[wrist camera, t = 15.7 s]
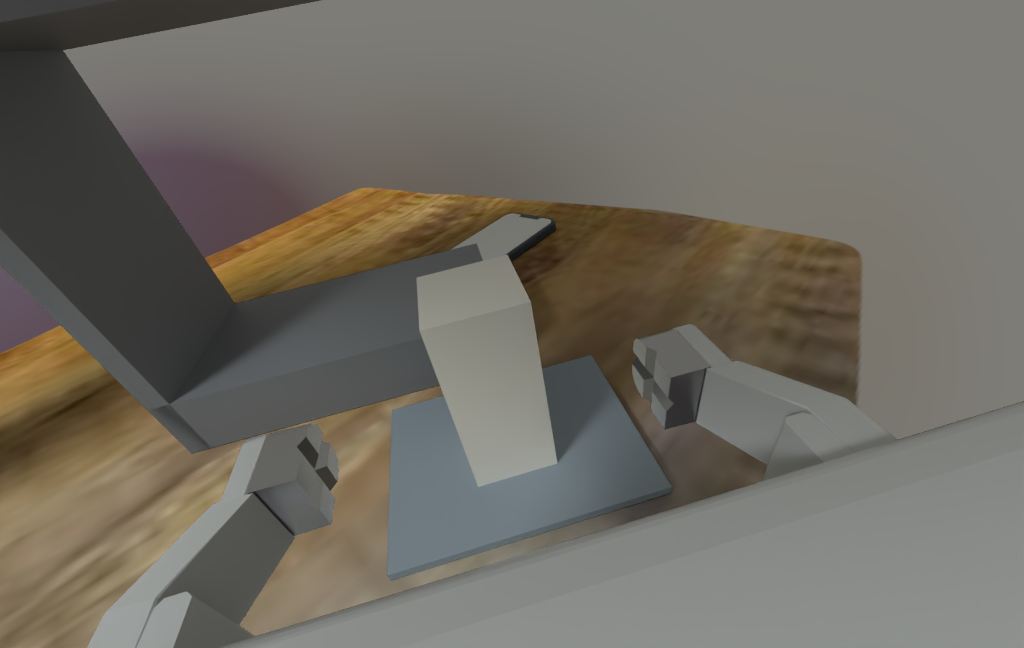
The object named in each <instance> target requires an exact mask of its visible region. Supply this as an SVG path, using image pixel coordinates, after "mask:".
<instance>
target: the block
mask: <svg viewBox="0 0 1024 648" xmlns="http://www.w3.org/2000/svg"><path fill="white" fill-rule="evenodd" d="M416 279H417V296H418V314H419V331H420V334H421V336H422V339H423V342H424V344H425V347H426V350H427V352H428V355H429V358H430V360H431V363H432V366H433V368H434V371H435V373H436V376H437V379H438V381H439V384H440V387H441V389H442V392H443V395H444V397H445V400H446V403H447V405H448V408H449V411H450V413H451V416H452V419H453V421H454V424H455V426H456V429H457V432H458V434H459V437H460V440H461V442H462V445H463V448H464V450H465V453H466V456H467V458H468V461H469V464H470V466H471V469H472V472H473V474H474V477H475V480H476V482H477V485H478V487H480V486H483V485H487V484H490V483H493V482H497V481H500V480H503V479H507V478H510V477H513V476H517V475H520V474H523V473H527V472H530V471H534V470H537V469H540V468H544V467H547V466H550V465H554V464H557V458H556V452H555V446H554V439H553V433H552V427H551V421H550V415H549V409H548V403H547V397H546V391H545V385H544V379H543V373H542V367H541V361H540V355H539V349H538V342H537V336H536V330H535V324H534V318H533V312H532V306H531V301H530V299H529V297H528V295H527V293H526V291H525V289H524V287H523V285H522V283H521V281H520V279H519V277H518V275H517V273H516V271H515V269H514V267H513V265H512V263H511V261H510V259H509V257H508V255H504V256H500V257H496V258H492V259H488V260H484V261H480V262H476V263H472V264H468V265H464V266H460V267H456V268H452V269H448V270H445V271H441V272H437V273H433V274H429V275H425V276H421V277H417V278H416Z"/></svg>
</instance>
